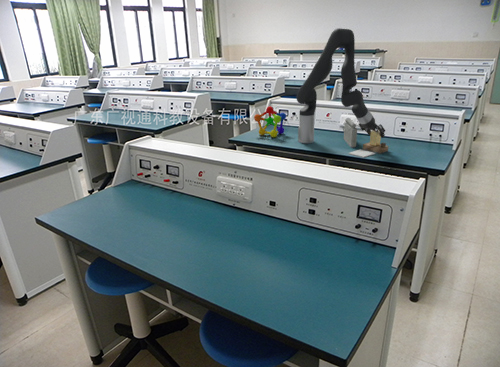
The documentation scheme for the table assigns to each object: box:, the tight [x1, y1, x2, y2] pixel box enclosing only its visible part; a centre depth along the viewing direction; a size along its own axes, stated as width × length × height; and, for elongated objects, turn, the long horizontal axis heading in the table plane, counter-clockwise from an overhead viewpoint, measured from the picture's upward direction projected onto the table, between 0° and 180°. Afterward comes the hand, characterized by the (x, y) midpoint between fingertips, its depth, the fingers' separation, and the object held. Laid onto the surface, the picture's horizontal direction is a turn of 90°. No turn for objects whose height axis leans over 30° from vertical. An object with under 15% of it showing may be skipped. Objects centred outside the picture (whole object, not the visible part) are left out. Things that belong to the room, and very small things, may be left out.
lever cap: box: [369, 130, 382, 146], centre depth 204 cm, size 4×4×8 cm
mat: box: [348, 148, 376, 159], centre depth 200 cm, size 10×10×1 cm
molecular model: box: [253, 105, 287, 138], centre depth 246 cm, size 21×15×20 cm
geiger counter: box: [342, 117, 358, 148], centre depth 222 cm, size 14×6×25 cm
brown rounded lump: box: [362, 141, 389, 155], centre depth 205 cm, size 12×7×5 cm, turn 35°
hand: (376, 135), depth 203 cm, fingers open, 8 cm apart
